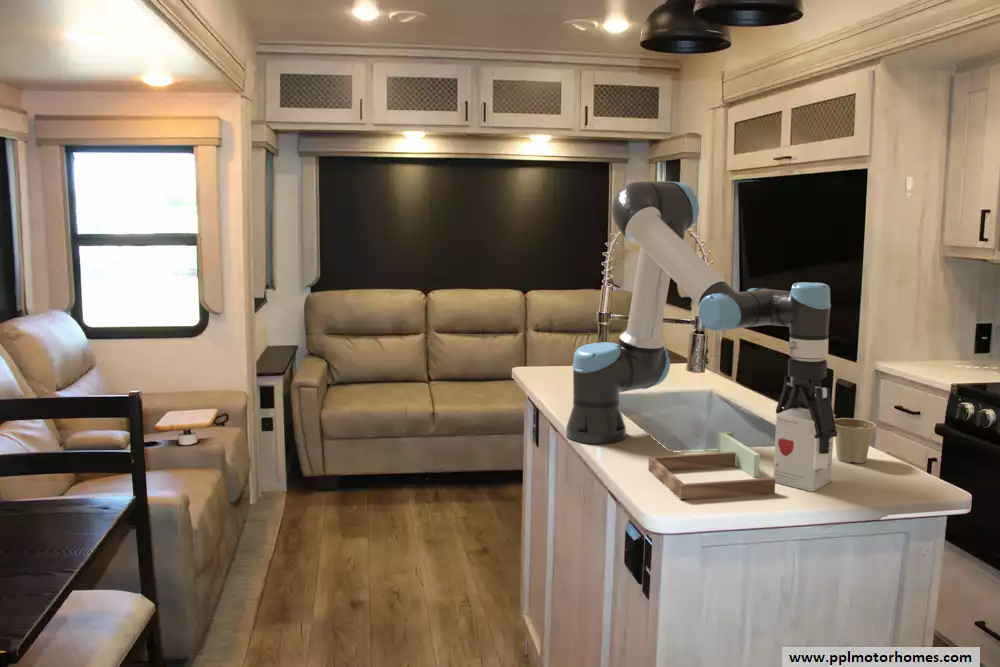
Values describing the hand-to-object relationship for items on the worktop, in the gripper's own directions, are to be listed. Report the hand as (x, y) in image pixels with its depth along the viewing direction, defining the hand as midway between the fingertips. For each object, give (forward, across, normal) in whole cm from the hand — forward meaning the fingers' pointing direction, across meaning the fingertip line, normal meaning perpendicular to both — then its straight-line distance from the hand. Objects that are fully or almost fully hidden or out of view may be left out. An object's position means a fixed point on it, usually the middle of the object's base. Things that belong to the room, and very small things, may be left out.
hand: (803, 458), depth 169 cm
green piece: (+5, -14, -7) cm, 16 cm away
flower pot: (+5, -12, +19) cm, 23 cm away
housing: (+5, -4, -19) cm, 20 cm away
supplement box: (+5, 0, 0) cm, 5 cm away
